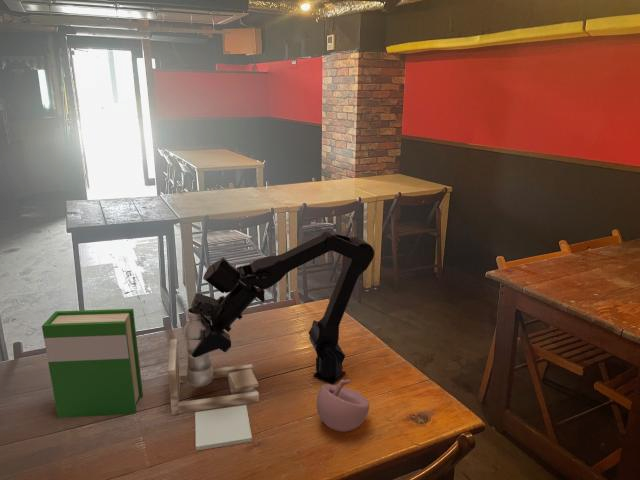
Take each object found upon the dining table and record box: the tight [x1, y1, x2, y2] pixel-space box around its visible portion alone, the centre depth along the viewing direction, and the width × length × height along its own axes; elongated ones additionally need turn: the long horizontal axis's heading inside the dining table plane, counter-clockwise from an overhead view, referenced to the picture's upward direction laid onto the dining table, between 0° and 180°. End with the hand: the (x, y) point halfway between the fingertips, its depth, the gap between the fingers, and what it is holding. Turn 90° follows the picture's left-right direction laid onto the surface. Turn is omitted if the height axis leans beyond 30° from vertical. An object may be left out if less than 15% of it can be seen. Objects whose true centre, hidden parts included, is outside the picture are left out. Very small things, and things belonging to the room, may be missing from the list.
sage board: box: [194, 404, 253, 452], centre depth 112 cm, size 12×12×1 cm
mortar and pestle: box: [316, 378, 370, 432], centre depth 112 cm, size 12×12×12 cm
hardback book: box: [41, 308, 144, 419], centre depth 116 cm, size 18×7×24 cm, turn 96°
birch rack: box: [167, 338, 260, 416], centre depth 124 cm, size 21×15×12 cm
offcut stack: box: [227, 369, 260, 395], centre depth 127 cm, size 7×8×3 cm
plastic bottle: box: [182, 307, 214, 388], centre depth 120 cm, size 6×7×20 cm
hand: (192, 349), depth 119 cm, fingers closed on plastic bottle, 6 cm apart
